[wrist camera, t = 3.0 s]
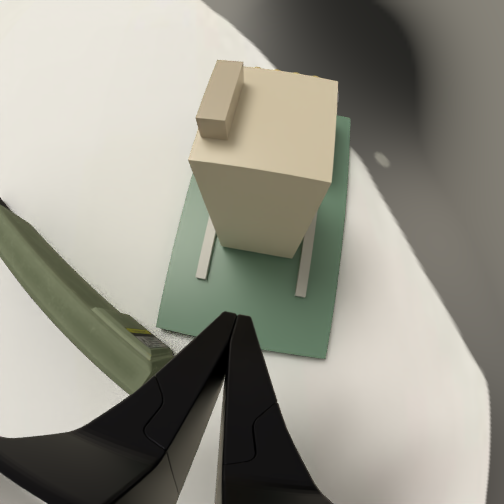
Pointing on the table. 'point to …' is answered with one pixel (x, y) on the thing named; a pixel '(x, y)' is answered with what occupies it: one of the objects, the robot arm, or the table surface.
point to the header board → (261, 273)
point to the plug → (264, 155)
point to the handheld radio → (80, 307)
